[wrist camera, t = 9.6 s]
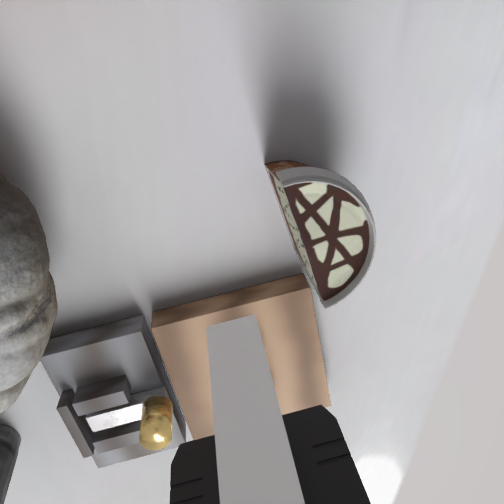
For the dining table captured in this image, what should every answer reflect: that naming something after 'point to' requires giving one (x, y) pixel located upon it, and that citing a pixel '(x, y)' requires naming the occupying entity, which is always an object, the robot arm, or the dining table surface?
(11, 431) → the beverage cup
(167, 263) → the dining table surface
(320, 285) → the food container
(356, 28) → the dining table surface
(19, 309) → the gourd
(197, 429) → the door board
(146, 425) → the bolt
